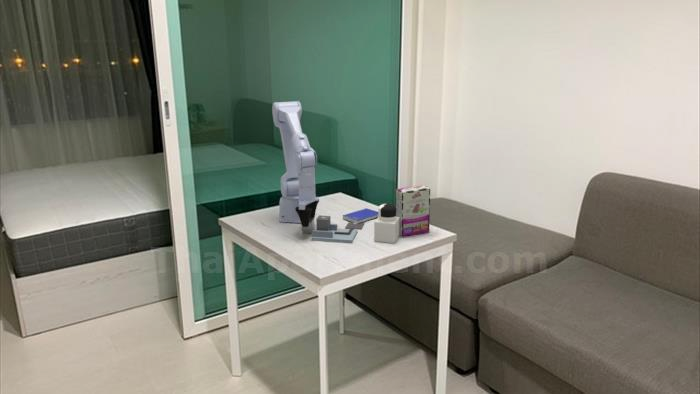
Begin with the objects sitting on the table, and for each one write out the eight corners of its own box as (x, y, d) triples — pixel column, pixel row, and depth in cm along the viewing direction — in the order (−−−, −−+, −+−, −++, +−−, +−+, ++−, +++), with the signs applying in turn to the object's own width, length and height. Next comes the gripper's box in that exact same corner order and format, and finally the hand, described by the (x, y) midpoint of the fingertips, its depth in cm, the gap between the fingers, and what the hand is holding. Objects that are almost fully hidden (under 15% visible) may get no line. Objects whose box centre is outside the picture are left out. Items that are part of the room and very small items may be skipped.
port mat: (345, 228, 190) (345, 227, 190) (348, 222, 196) (348, 222, 196) (361, 229, 189) (361, 228, 189) (364, 223, 195) (364, 223, 195)
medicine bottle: (399, 236, 183) (400, 203, 179) (394, 243, 177) (395, 209, 173) (379, 233, 185) (380, 201, 182) (373, 241, 179) (374, 207, 175)
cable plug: (302, 234, 186) (301, 218, 184) (305, 230, 189) (304, 215, 187) (311, 234, 185) (311, 219, 183) (314, 231, 188) (314, 216, 187)
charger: (316, 234, 183) (316, 219, 181) (319, 230, 186) (319, 215, 185) (328, 234, 182) (327, 219, 180) (330, 230, 186) (330, 215, 184)
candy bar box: (422, 228, 190) (423, 184, 185) (429, 232, 186) (431, 188, 181) (394, 232, 186) (395, 188, 181) (401, 237, 182) (402, 192, 177)
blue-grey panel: (311, 240, 180) (311, 232, 179) (320, 227, 192) (320, 219, 191) (351, 243, 177) (351, 234, 176) (358, 229, 189) (358, 221, 188)
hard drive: (357, 219, 193) (381, 212, 202) (342, 214, 199) (365, 207, 207) (357, 223, 194) (381, 216, 202) (342, 218, 200) (365, 211, 208)
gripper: (312, 192, 174) (313, 230, 178) (323, 180, 188) (324, 216, 192) (292, 191, 176) (293, 229, 180) (304, 179, 189) (305, 215, 193)
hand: (308, 222), depth 186 cm, fingers open, 7 cm apart
